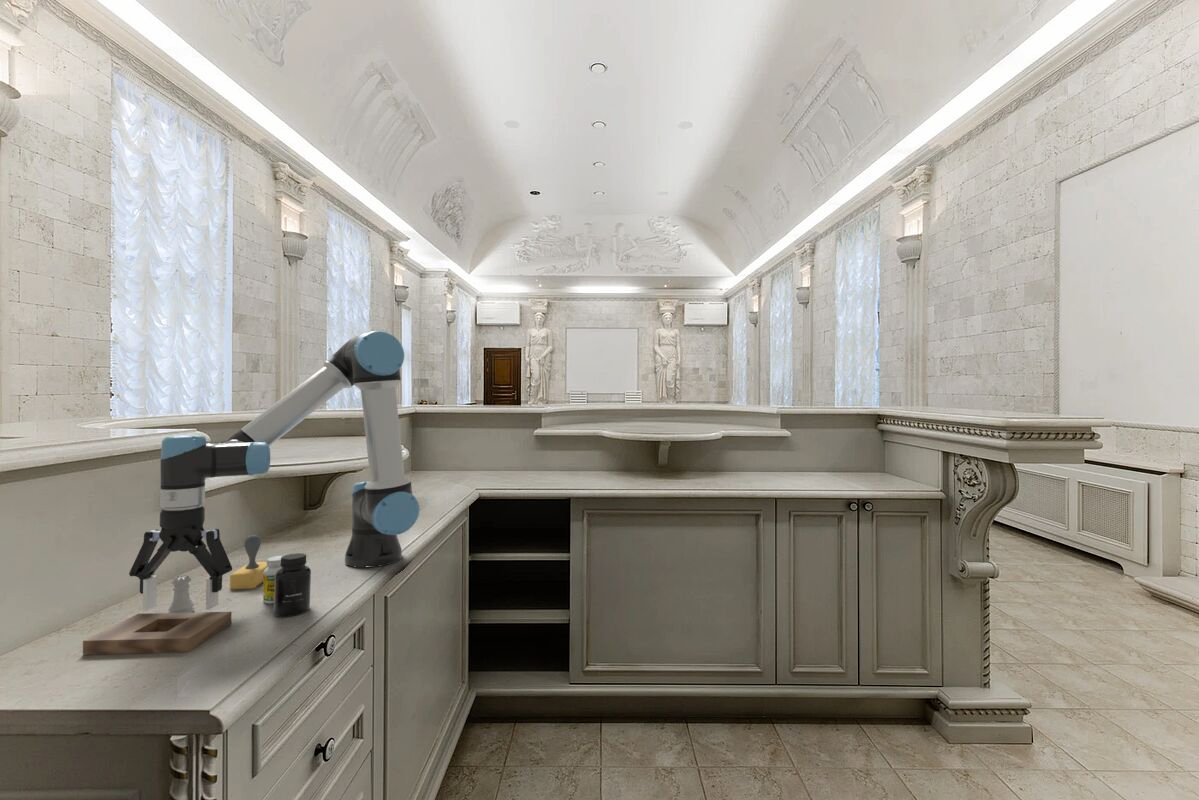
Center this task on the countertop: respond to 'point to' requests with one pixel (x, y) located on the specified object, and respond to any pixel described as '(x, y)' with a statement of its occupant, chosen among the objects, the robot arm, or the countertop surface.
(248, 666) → the countertop surface
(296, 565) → the supplement bottle
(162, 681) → the countertop surface
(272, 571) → the supplement bottle
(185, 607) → the rook chess piece
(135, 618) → the walnut socket board
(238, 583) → the rubber stamp
